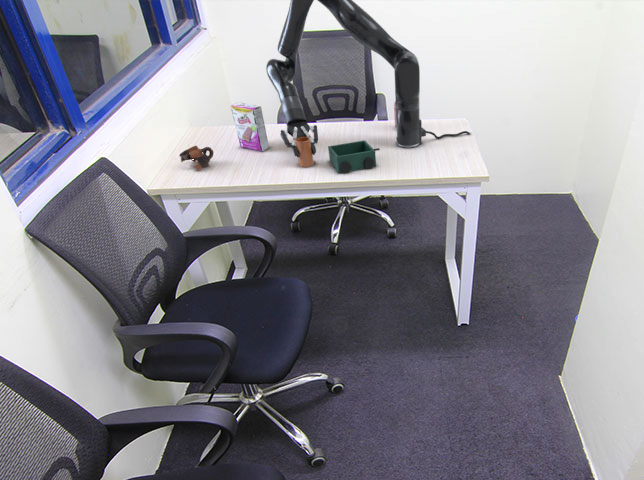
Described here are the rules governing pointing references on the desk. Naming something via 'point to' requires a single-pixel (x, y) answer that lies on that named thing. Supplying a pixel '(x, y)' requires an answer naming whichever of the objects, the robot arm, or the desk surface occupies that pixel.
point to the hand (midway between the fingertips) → (306, 155)
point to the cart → (351, 154)
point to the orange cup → (304, 151)
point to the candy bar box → (250, 126)
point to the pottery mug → (197, 156)
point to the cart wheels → (368, 164)
